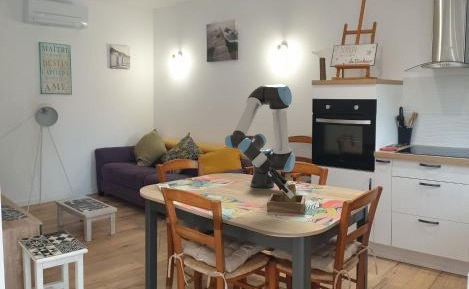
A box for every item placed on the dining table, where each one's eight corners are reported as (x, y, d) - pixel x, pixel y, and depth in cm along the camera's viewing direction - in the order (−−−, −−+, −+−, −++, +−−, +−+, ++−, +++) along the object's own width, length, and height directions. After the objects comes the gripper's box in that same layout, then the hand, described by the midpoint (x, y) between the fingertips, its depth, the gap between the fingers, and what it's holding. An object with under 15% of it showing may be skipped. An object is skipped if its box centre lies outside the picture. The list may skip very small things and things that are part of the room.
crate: (271, 202, 232) (271, 193, 231) (305, 204, 228) (305, 195, 227) (267, 211, 214) (267, 201, 214) (303, 213, 211) (303, 203, 210)
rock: (279, 200, 213) (299, 197, 214) (276, 185, 218) (295, 182, 219) (277, 209, 222) (296, 206, 223) (274, 195, 227) (292, 192, 228)
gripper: (260, 164, 232) (289, 195, 230) (254, 171, 212) (286, 204, 210) (270, 155, 230) (299, 185, 229) (264, 161, 210) (297, 194, 208)
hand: (293, 194), depth 219 cm, fingers closed on rock, 8 cm apart
